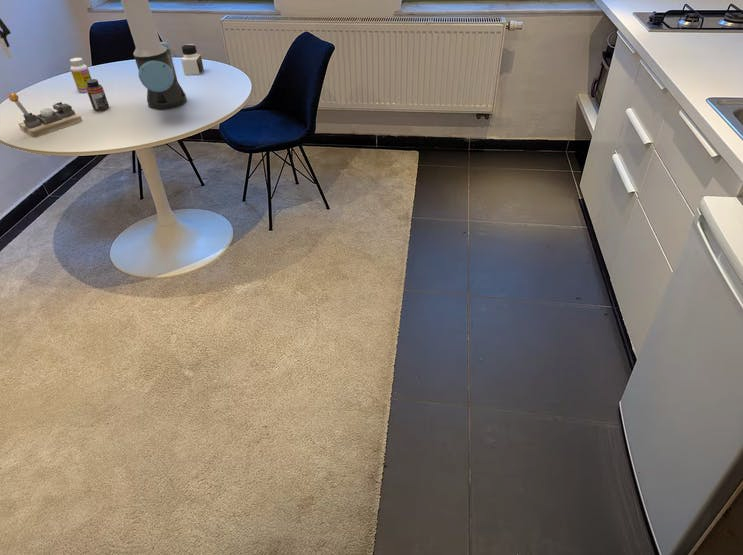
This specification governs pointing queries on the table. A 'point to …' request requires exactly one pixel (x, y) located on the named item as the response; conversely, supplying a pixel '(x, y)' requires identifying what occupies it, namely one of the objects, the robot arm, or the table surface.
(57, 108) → the rocker
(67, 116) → the panel
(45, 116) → the button
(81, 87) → the supplement bottle
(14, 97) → the lever
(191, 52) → the medicine bottle
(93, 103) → the supplement bottle
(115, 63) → the table surface
